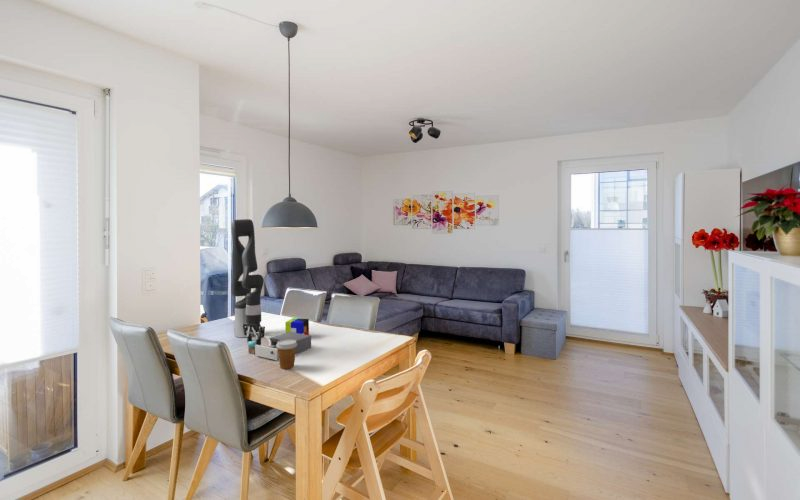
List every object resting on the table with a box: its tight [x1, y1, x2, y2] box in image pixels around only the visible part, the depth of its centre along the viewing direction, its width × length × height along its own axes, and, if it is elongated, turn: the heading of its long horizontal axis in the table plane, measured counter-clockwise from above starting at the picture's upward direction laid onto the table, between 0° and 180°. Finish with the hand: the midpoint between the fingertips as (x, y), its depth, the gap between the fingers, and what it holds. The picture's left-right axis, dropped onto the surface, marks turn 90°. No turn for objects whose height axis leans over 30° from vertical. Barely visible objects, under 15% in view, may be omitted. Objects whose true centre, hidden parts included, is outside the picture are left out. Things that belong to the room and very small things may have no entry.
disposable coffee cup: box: [276, 339, 297, 370], centre depth 187 cm, size 10×10×12 cm
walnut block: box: [247, 345, 255, 355], centre depth 208 cm, size 4×4×4 cm
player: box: [269, 332, 312, 356], centre depth 213 cm, size 16×14×7 cm
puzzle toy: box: [285, 317, 310, 335], centre depth 237 cm, size 10×10×10 cm
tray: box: [254, 344, 279, 361], centre depth 203 cm, size 15×14×5 cm
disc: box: [247, 339, 256, 347], centre depth 207 cm, size 6×6×2 cm
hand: (254, 344), depth 207 cm, fingers closed on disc, 6 cm apart
